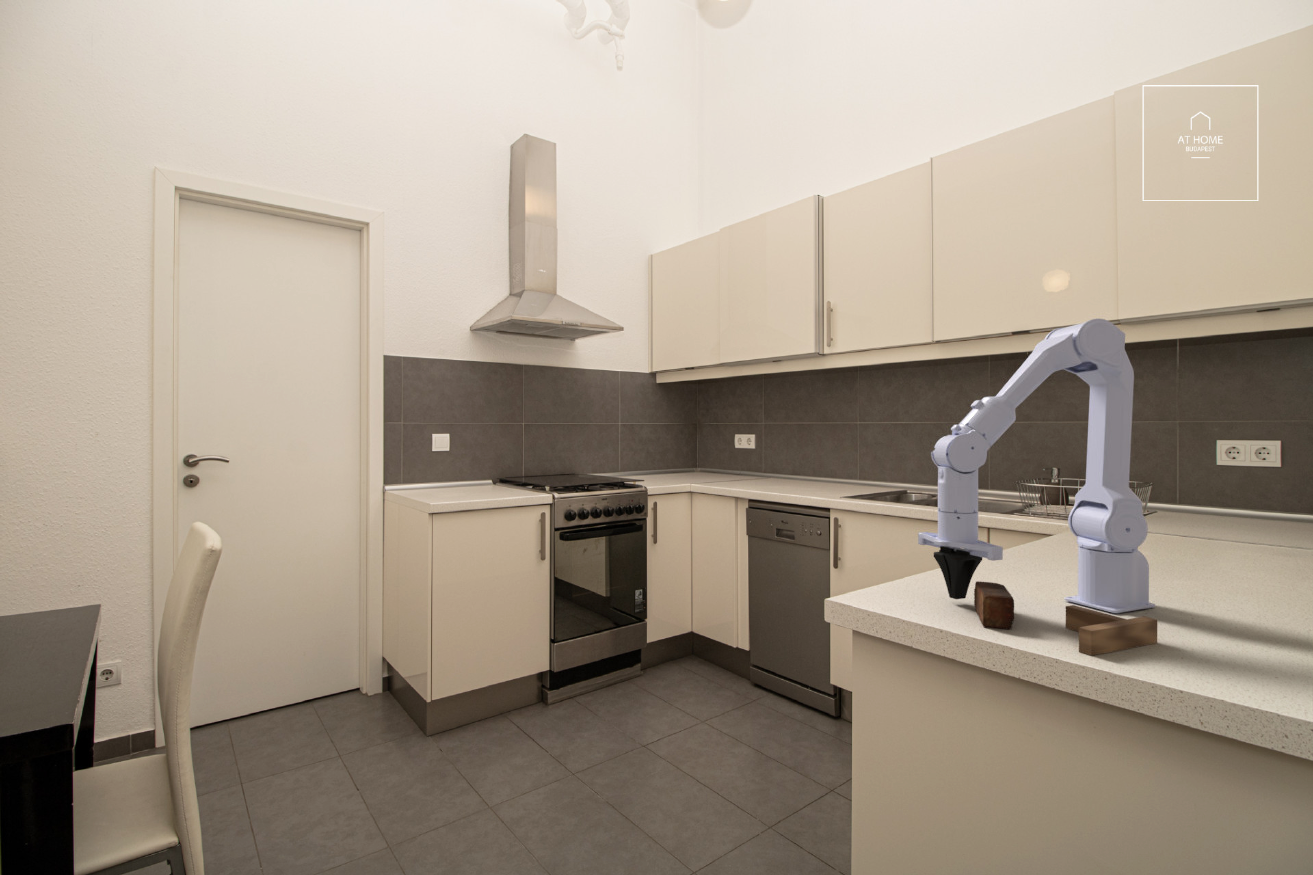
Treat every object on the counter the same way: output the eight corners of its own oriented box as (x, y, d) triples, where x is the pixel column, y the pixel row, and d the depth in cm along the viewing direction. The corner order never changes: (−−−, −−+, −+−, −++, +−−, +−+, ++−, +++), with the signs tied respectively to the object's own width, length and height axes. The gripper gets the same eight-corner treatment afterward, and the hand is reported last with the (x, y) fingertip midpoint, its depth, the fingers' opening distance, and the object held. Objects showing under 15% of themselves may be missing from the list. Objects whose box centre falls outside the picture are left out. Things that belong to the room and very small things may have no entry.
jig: (1090, 623, 88) (1090, 602, 88) (1157, 642, 80) (1157, 619, 80) (1026, 634, 83) (1026, 611, 83) (1091, 655, 75) (1091, 631, 75)
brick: (1015, 631, 85) (1015, 597, 85) (982, 628, 86) (982, 594, 86) (1002, 611, 95) (1002, 580, 95) (973, 608, 96) (973, 578, 96)
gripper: (903, 507, 103) (903, 589, 103) (977, 518, 90) (977, 612, 90) (936, 505, 106) (936, 585, 106) (1013, 516, 92) (1012, 607, 92)
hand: (957, 597), depth 98 cm, fingers closed
